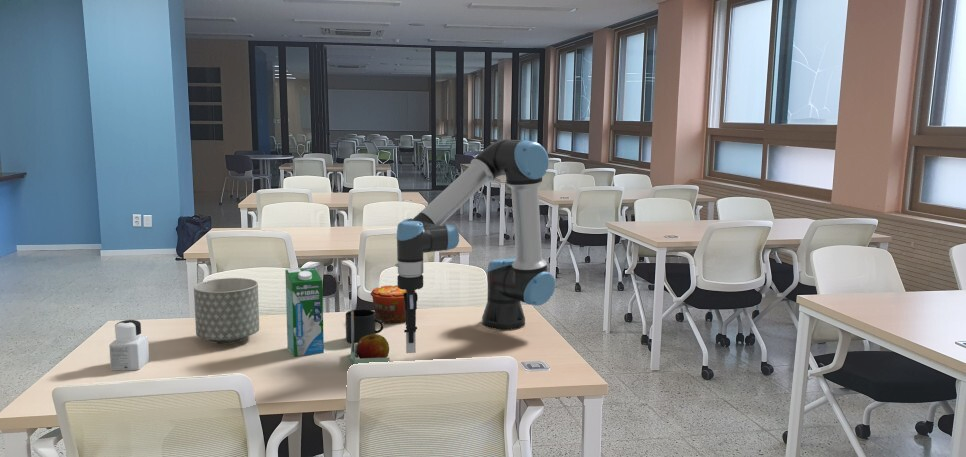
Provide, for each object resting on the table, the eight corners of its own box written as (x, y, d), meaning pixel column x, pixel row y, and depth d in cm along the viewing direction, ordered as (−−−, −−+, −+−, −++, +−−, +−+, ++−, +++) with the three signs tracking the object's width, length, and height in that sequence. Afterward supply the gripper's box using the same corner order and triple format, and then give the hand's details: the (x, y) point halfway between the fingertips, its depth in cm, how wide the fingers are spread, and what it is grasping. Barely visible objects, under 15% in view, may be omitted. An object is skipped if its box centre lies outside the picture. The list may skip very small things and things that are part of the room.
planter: (271, 340, 227) (269, 285, 224) (214, 354, 213) (211, 295, 211) (241, 327, 240) (239, 275, 237) (185, 339, 226) (183, 284, 223)
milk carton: (294, 356, 212) (291, 275, 208) (287, 348, 220) (285, 269, 216) (323, 352, 216) (322, 272, 212) (316, 344, 224) (314, 266, 220)
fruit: (350, 364, 206) (350, 338, 205) (365, 355, 215) (365, 329, 213) (380, 369, 203) (380, 342, 202) (394, 359, 211) (394, 333, 210)
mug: (381, 345, 224) (381, 317, 223) (343, 344, 224) (343, 316, 223) (385, 335, 233) (385, 309, 232) (348, 335, 233) (348, 308, 232)
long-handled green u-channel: (388, 352, 217) (387, 303, 215) (389, 370, 202) (389, 317, 200) (351, 354, 215) (350, 304, 213) (350, 372, 200) (349, 319, 198)
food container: (378, 312, 262) (377, 283, 260) (420, 314, 260) (420, 285, 258) (365, 324, 246) (364, 294, 244) (410, 327, 244) (410, 296, 242)
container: (122, 361, 206) (119, 318, 204) (149, 360, 207) (147, 317, 205) (110, 370, 198) (107, 325, 196) (139, 370, 199) (136, 325, 197)
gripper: (396, 269, 212) (397, 345, 216) (398, 280, 200) (398, 360, 203) (421, 269, 213) (422, 344, 217) (424, 279, 201) (425, 359, 205)
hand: (410, 352), depth 210 cm, fingers closed
